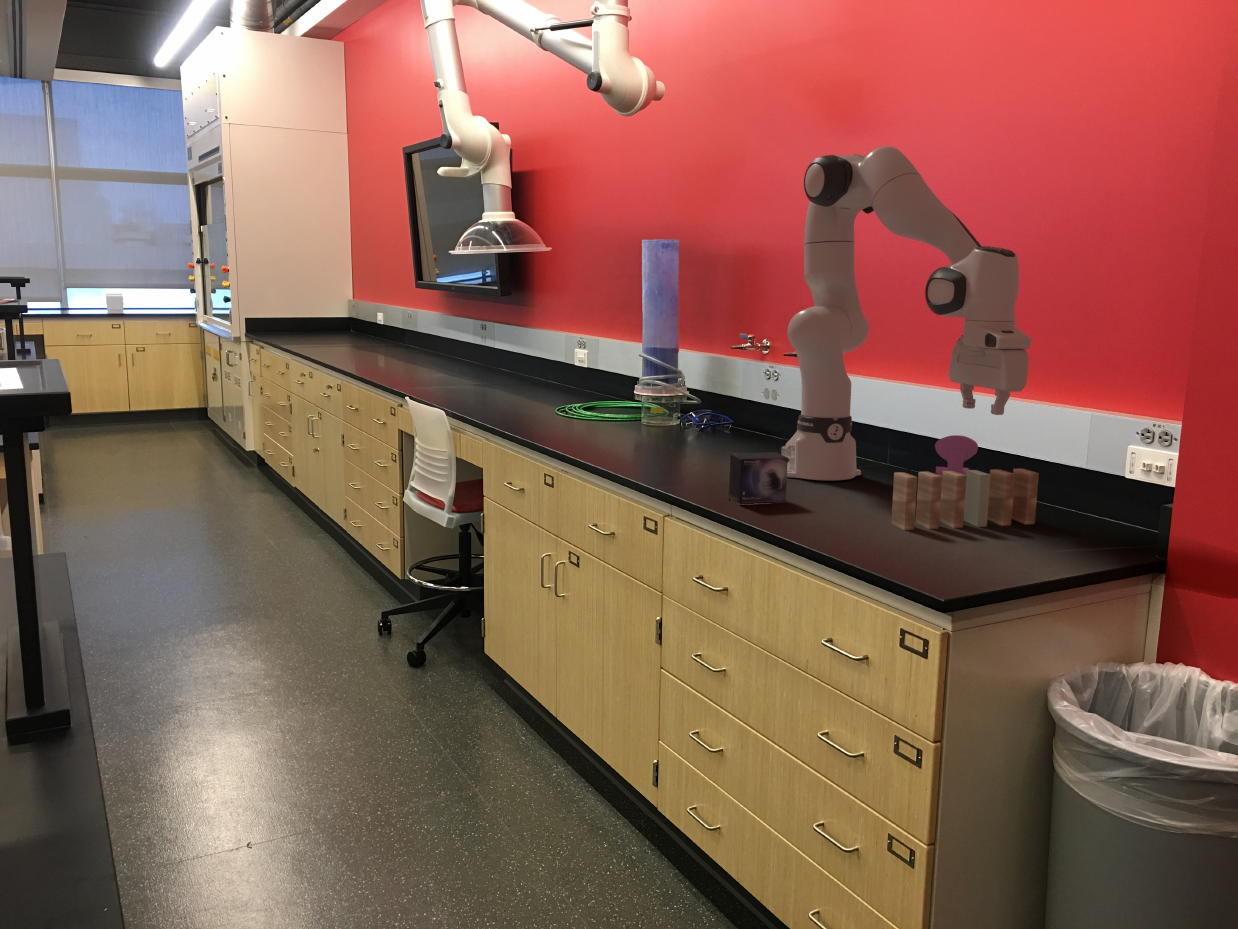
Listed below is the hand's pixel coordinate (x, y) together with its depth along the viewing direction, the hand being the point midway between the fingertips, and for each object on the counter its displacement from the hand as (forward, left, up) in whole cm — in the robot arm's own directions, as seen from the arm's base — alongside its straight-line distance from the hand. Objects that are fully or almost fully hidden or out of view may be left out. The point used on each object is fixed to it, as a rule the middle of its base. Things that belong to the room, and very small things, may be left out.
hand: (982, 411), depth 184 cm
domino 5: (0, +5, -22) cm, 22 cm away
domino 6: (0, +10, -22) cm, 24 cm away
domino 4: (0, 0, -22) cm, 22 cm away
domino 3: (0, -5, -22) cm, 22 cm away
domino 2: (0, -10, -22) cm, 24 cm away
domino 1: (0, -15, -22) cm, 26 cm away
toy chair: (-16, +5, -22) cm, 28 cm away
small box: (-24, -35, -22) cm, 48 cm away
